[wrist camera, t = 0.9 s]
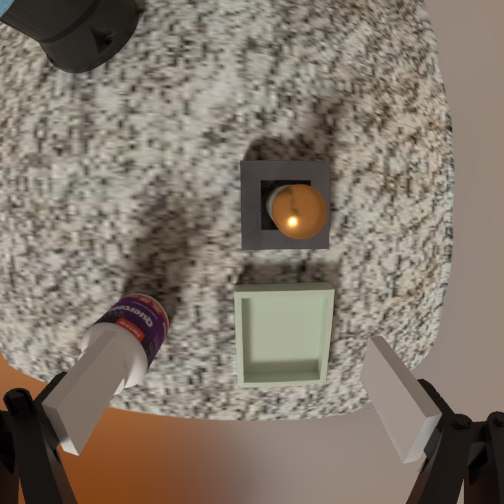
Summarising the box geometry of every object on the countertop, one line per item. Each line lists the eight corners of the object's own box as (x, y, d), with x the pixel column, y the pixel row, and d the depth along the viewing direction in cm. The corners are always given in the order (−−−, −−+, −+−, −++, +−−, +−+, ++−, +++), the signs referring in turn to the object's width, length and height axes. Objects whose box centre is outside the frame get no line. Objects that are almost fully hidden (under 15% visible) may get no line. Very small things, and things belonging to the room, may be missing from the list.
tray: (235, 284, 39) (234, 291, 36) (328, 282, 39) (334, 289, 36) (238, 375, 41) (237, 387, 38) (320, 372, 41) (325, 383, 38)
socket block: (241, 162, 35) (240, 160, 33) (323, 163, 35) (329, 161, 33) (242, 244, 38) (241, 249, 35) (322, 244, 38) (328, 248, 35)
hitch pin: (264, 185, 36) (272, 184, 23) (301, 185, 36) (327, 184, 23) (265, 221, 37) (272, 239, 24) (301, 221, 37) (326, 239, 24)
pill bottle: (173, 297, 39) (137, 351, 25) (168, 348, 41) (138, 413, 26) (118, 284, 39) (63, 329, 25) (116, 335, 40) (71, 391, 26)
